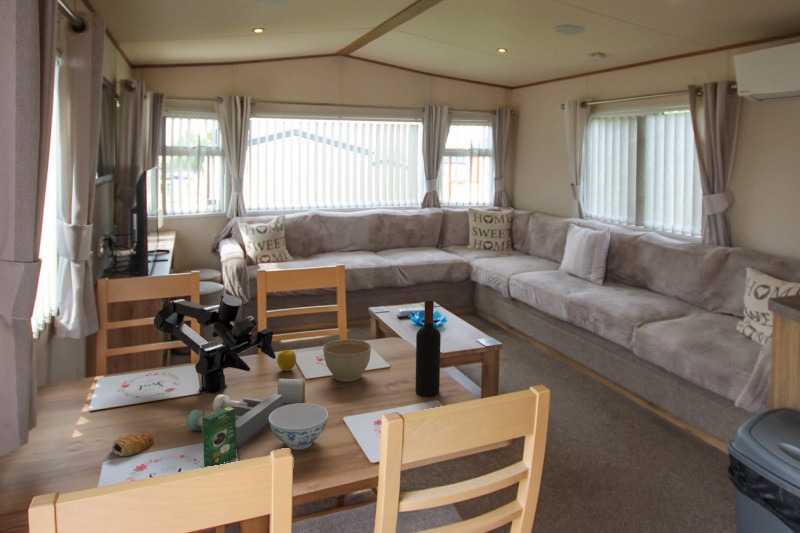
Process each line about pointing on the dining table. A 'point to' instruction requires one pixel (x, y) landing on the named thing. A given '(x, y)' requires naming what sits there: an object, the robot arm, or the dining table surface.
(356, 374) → the planter bowl
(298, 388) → the ceramic mug
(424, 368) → the wine bottle
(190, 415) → the knob
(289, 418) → the chinaware
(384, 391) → the dining table surface
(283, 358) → the apple
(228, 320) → the robot arm
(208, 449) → the coffee box
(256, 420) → the mount
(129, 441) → the pastry
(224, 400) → the knob
